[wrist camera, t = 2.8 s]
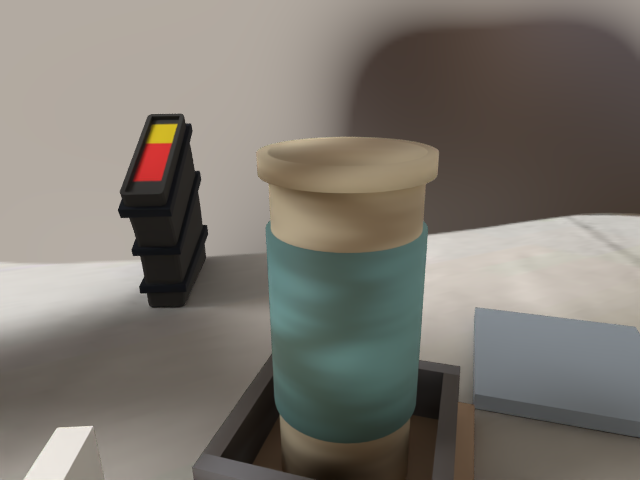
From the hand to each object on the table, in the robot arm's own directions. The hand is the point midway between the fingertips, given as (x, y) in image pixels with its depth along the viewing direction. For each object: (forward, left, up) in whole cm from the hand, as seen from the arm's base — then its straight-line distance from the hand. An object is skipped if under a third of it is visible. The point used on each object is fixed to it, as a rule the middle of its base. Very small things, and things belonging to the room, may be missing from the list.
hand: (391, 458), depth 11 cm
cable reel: (-3, +9, -10) cm, 14 cm away
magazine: (-23, +26, -11) cm, 37 cm away
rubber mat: (+8, +22, -11) cm, 26 cm away
